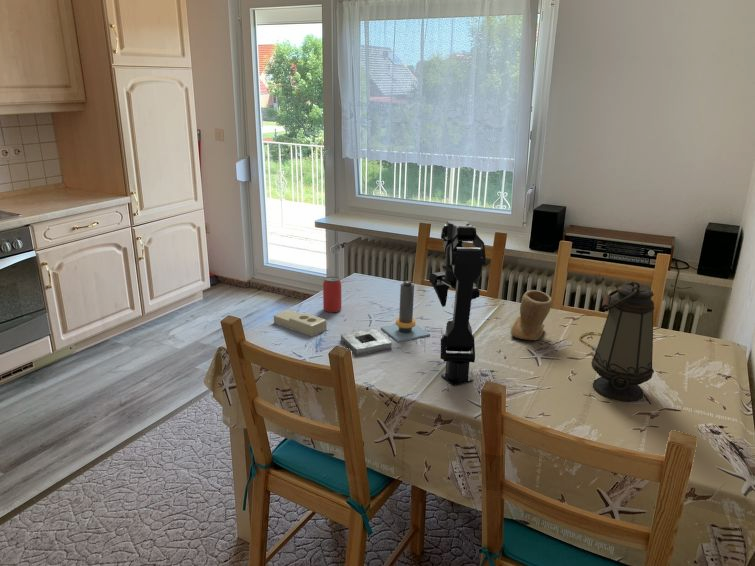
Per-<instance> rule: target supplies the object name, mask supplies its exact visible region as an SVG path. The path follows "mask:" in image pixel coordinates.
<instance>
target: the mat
mask: <svg viewBox="0 0 755 566" xmlns="http://www.w3.org/2000/svg"><path fill="white" fill-rule="evenodd" d="M380 330H381V331H383V332H385V334H386V335H388V336H390V337H391V338H392V339H393V340H395V341H396V342H397V343H400V342H401V343H402V342H405V341H410V340H415V339H416V340H417V339H421V338H425V337H430V336H431V333H430V332H428V331H426V330H425V329H423V328H422V327H420V325H418V324H416V323H415V326H414V327H412V332H410V333H401V332H399V327H398V326H397V325H396V323H395V324H389V325H383V326H381V327H380Z"/></svg>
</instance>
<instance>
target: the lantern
mask: <svg viewBox="0 0 755 566" xmlns="http://www.w3.org/2000/svg"><path fill="white" fill-rule="evenodd" d="M612 296H613V297H612ZM653 296H654V292H653V290H651V289H650V288H647V287H644V286H641V285H640V283H639V282H638V281H637V280H633V281H631V282H629V283H627V284H623V285H619V286H618V287H616V289H615V290H614V291H611V292H610V293H609V294H605V295H603V298H602V304H601V307H600V308H601V310H602V311H603V312H608V313H607V317H606V320H605V322H604V323H605V324H604V325H603V328H602V332H601V334H600V335H601V336H600V338H599V340H598V343H597V349H596V351H595V353H594V355H593V357H592V359H591V360H592V361H591V367H592V369H593V371H594V372H596V373H597V375H598V376H600V377H598V378H596V379H594V380H593V383H592V388H593V390H594V391H595V392H596V393H597V394H599V395H600V396H602V397H604V398H607V399H609V400H612V401H615V402H616V401H617V402H620V403H621V402H623V403H634V402H635V403H637V402H639V401H641V400H642V399H643V398H644V395H645V393H644V390H643V389H642V388H641V386H639V385H641V384H644V383H647V382H648V381H650V380H651V379H652V377H653V374H654V372H655V370H654V368H653V354H654V353H653V348H654V346H653V345H654V313H655V303H654V301H653V299H652V298H653Z"/></svg>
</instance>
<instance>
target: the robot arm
mask: <svg viewBox="0 0 755 566" xmlns="http://www.w3.org/2000/svg"><path fill="white" fill-rule="evenodd" d="M440 239H441V240H442V241H443V250H444V252H445V264H442V269H444V271H437V272H432V273H431V274H430V275H429V278H428V279H429V283H431V286H432V287H433V290H434V291H435V294H436V296H437V298H438V300H439V302H440V305H441V307H443V308H444V307H446V305H447V299H448V291H449V289H450V288H452V289H454V290H455V294H454V303H453V312H452V313H453V315H452V320H448V321H447V322H446V326H445V333H444V334H443V335H442V337H441V339H440V360H442V361H443V362H444V363H445V372H444V373H441V375H440V376H441V377H442V378H443V379H444V380H445V381H447V382H449V384H451V385H452V386H458V385H459V386H460V385H464V384H466V383H470V382H473V380H474V379H473V378H472V377H471V376H469V373H470V363H475V360H476V349H475V347H476V346H475V344H476V343H475V335H474V334H473V330H472V326H471V323H470V317H471V316H470V314H471V307H472V300H476V299H477V298H480V295H481V290H480V289H479V287H477V286H475V285H478V283H479V281H480V278H481V275H482V271H483V267H485V266H486V260H487V259H486V247H485V242H484V241H483V240H482V239H481V238H480V236H479V235H478V234H477V228H476V226H473V225H471V224H470V222H469V221H466V220H463V221H462V220H447V221H446V224H444V225H443V227H442V228H441V234H440ZM464 242H465V243H466V242H467V243H468V242H472V245H473V246H474V247H473V246H470V247H469V246H468V247H467V246H466V245H465V244H463V243H464ZM474 284H475V285H474Z"/></svg>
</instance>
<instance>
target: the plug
mask: <svg viewBox="0 0 755 566" xmlns="http://www.w3.org/2000/svg"><path fill="white" fill-rule="evenodd" d="M399 290H400V292H399V293H400V294H399V312H398V314H399V315H398V316H399V317H397V318H396V319H395V324H396V325H397V326H398V327H399V332H401V333H410V332H412V327H414V326H415V324H416V319H415V318H414V317H413V316H414V315H413V314H414V297H415V295H414V293H415V284H413V283H412V281H410V280H405V281H403V283H401V284H400V289H399Z"/></svg>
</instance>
